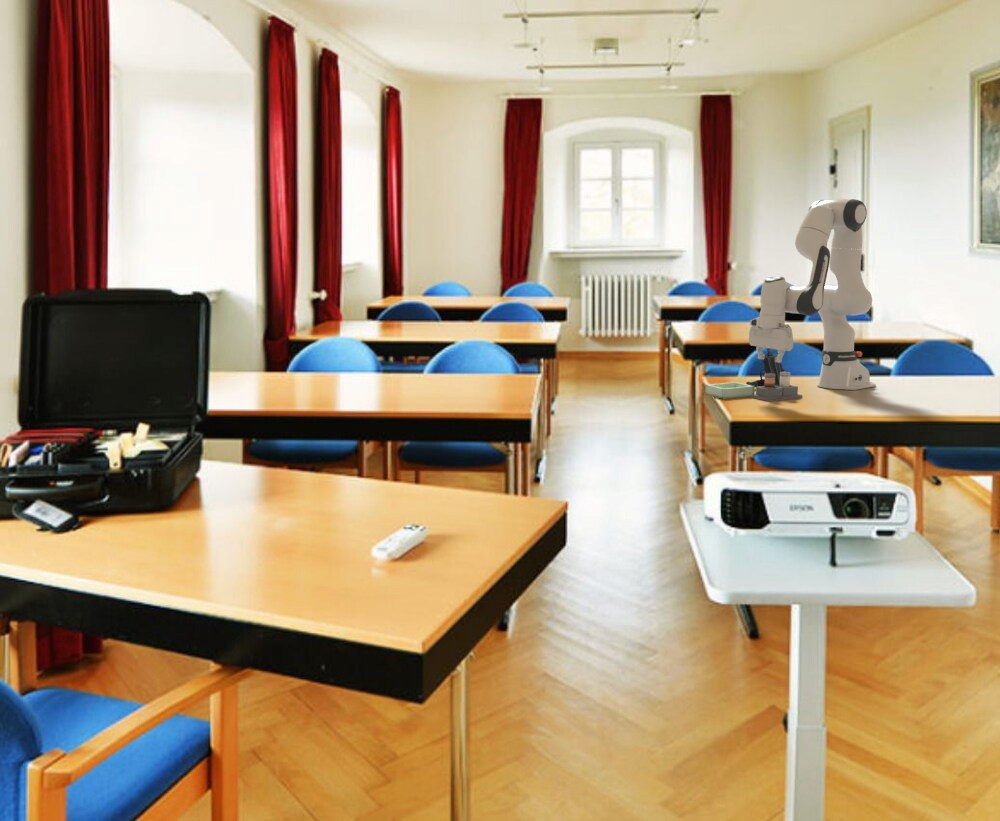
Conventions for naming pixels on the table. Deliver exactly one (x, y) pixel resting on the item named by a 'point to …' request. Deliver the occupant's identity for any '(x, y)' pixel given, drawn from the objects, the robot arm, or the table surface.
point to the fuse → (784, 379)
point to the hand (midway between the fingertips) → (769, 360)
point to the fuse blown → (769, 380)
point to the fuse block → (776, 393)
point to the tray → (729, 390)
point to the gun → (769, 369)
